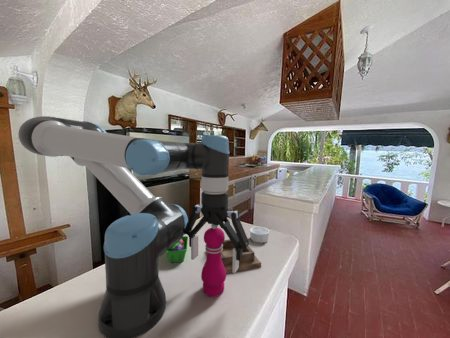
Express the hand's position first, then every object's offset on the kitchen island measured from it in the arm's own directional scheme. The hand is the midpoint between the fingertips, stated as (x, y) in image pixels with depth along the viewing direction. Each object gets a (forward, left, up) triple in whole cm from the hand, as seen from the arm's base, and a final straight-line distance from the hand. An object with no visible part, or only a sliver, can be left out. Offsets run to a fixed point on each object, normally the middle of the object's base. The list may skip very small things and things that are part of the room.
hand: (214, 263), depth 57 cm
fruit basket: (-9, +22, -8) cm, 25 cm away
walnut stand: (+11, +14, -8) cm, 20 cm away
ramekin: (+29, +26, -8) cm, 40 cm away
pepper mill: (0, 0, -8) cm, 8 cm away
